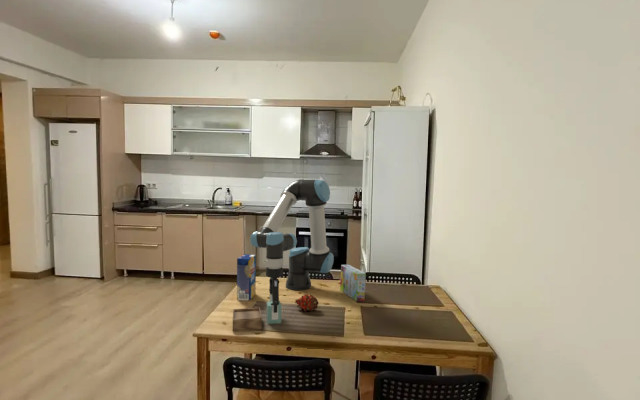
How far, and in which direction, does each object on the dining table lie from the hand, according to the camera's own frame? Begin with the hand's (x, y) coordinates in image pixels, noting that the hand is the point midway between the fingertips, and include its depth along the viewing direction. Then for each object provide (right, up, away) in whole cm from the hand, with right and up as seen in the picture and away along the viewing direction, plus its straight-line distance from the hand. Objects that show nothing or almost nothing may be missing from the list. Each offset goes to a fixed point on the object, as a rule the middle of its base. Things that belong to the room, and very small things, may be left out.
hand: (273, 313), depth 161 cm
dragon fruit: (+14, -3, +14) cm, 20 cm away
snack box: (+39, -2, +38) cm, 54 cm away
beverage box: (-19, -1, +32) cm, 37 cm away
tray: (-11, -4, -4) cm, 12 cm away
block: (0, -4, +1) cm, 4 cm away
